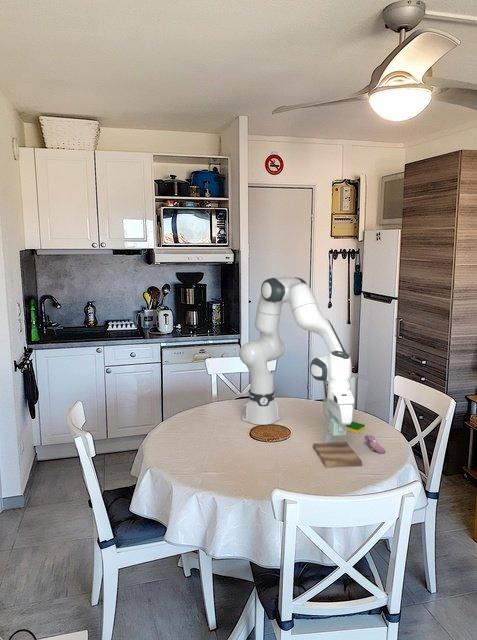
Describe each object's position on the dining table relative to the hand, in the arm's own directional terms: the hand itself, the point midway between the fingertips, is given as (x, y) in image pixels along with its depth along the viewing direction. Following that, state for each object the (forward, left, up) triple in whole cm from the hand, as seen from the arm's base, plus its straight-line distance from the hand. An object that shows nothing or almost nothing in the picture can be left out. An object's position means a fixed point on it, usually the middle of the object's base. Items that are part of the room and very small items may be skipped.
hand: (337, 427), depth 188 cm
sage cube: (0, 0, -2) cm, 2 cm away
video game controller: (-5, +17, -12) cm, 22 cm away
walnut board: (0, 0, -12) cm, 12 cm away
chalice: (-16, +2, -12) cm, 20 cm away
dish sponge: (-30, +15, -13) cm, 36 cm away
